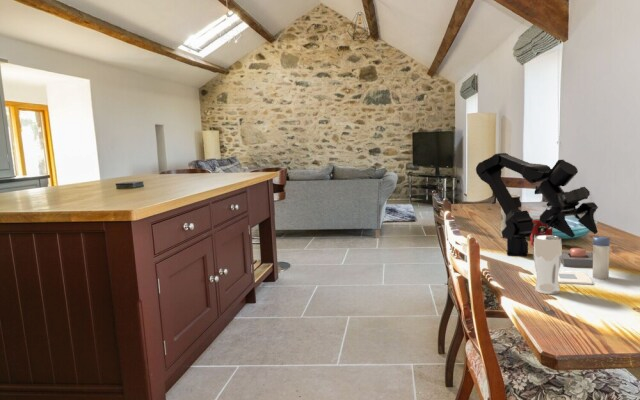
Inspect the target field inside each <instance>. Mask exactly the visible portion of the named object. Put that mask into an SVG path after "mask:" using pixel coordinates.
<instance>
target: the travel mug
mask: <svg viewBox="0 0 640 400" xmlns="http://www.w3.org/2000/svg"><path fill="white" fill-rule="evenodd" d="M510 195H511V196H512V198H513V200H514V202H515V203H516V205H517V207H518V208H519V210H521V211H522V202H521V197H522V196H521V194H514V193H512V194H511V193H510ZM500 220H501V221H500V224H501V227H500V228H501V230H500V233H501V237H502V238H503V236H502V231H503V230H504V229H505V227H506V223H505V220H506V215H505V213H504V211H503V209H502V207H501V206H500Z"/></svg>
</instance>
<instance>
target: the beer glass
mask: <svg viewBox="0 0 640 400" xmlns="http://www.w3.org/2000/svg"><path fill="white" fill-rule="evenodd" d="M562 247H563V245H562V237H561V236H558V235H553V234H552V235H538V236H535V237H534V246H533V248H532V249H533V252H532V256H533V262H534V268H535V272H536V273H535V274H536V281H535V286H534V290H535V292H537V293H540V294H545V295H556V294H559V293H560V291H561V289H560V285H559V284H560V283H558V275H559V271H561V270H560V269H561V265H562V263H561V259H562V252H563V248H562Z"/></svg>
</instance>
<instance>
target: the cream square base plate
mask: <svg viewBox="0 0 640 400" xmlns="http://www.w3.org/2000/svg"><path fill="white" fill-rule="evenodd" d="M558 284H569V285H591V286H592V285H594V283H593V281H592V280H591V278H590V277H589V276H588V275H587V273H586V272H585V271H566V270H559V275H558Z"/></svg>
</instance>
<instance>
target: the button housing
mask: <svg viewBox="0 0 640 400" xmlns="http://www.w3.org/2000/svg"><path fill="white" fill-rule="evenodd" d="M570 254H571V251H562V259H561V265H562V266H563V267H568V268H569V267H570V268H571V267H572V268H593V252H590V251H586V258H576V257H570Z"/></svg>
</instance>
